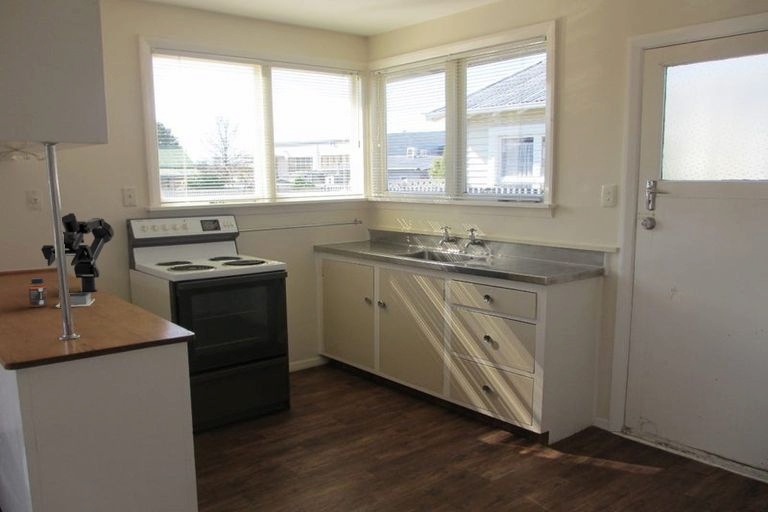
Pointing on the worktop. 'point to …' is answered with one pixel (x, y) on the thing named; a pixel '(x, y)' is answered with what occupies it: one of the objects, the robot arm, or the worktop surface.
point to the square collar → (80, 299)
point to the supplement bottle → (37, 293)
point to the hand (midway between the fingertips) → (60, 265)
